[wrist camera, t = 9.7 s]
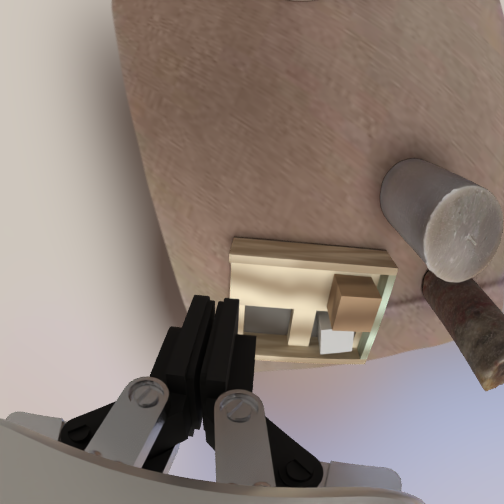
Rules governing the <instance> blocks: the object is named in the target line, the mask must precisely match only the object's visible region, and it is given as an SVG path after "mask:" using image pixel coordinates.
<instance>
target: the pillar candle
mask: <svg viewBox="0 0 504 504" xmlns="http://www.w3.org/2000/svg"><path fill="white" fill-rule="evenodd" d="M380 204H381V208H382V211H383V214H384V216H385V217H386V219H387V220H388V221H389V223H390V224H391V225H392V226H393V227H394V228H395V229H396V230H397V232H398V233H399V234H400V235H401V236H402V237H403V239H404V240H405V241H406V242H407V243H408V244H409V245H410V246H411V247H412V248H413V250H414V251H415V252H416V253H417V254H418V255H419V257H420V258H421V259H422V260H423V261H424V262H425V264H426V265H427V267H428V269H429V270H430V271H432V273H434V274H435V275H436V276H437V277H439V278H441V279H442V280H444V281H447V282H462V281H465V280H468V279H470V278H472V277H474V276H475V275H477V274H478V273H480V272H481V271H482V270H483V269H484V268H485V267H486V266H488V264H489V263H490V261H491V260H492V258H493V257H494V255H495V254H496V252H497V249H498V247H499V244H500V241H501V237H502V233H503V214H502V210H501V207H500V205H499V202H498V201H497V199H496V198H495V196H494V195H493V194H492V193H491V192H490V191H488V190H487V189H485V188H483V187H482V186H479V185H478V184H476V183H474V182H472V181H469V180H467V179H465V178H463V177H461V176H459V175H457V174H455V173H452V172H450V171H448V170H446V169H443V168H441V167H439V166H437V165H434V164H432V163H430V162H427V161H424V160H422V159H407V160H404V161H401V162H399V163H398V164H396V165H395V166H393V167H392V168H391V169H390V170H389V172H388V173H387V174H386V176H385V178H384V180H383V182H382V187H381V193H380Z"/></svg>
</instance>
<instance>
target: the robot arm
mask: <svg viewBox="0 0 504 504" xmlns="http://www.w3.org/2000/svg"><path fill="white" fill-rule="evenodd" d="M292 1H312V0H292ZM238 321H239V299H232V298H225V299H224V302H222V301H219V302H218V305H217V309H216V313H215V301H212V300H210V297H209V296H201V295H194V297H193V300H192V302H191V305H190V307H189V310H188V313H187V316H186V318H185V321H184V323H183V326H182V328H180V327H170V328H169V330H168V332H167V335H166V337H165V339H164V342H163V344H162V347H161V350H160V352H159V355H158V357H157V359H156V362H155V364H154V367H153V369H152V372H151V374H150V377H140V378H137V379H134V380H133V381H131V382H130V383H129V384H128V385H127V386H126V387H125V389H124V390H123V392H122V393H121V395H120V396H119V398H118V399H117V401H116V402H113V403H111V404H108V405H106V406H103V407H101V408H98V409H96V410H94V411H91V412H88V413H86V414H84V415H81V416H78V417H76V418H74V419H71V420H69V421H68V422H66V421H64V420H63V419H62V418H55V417H48V416H42V415H36V414H30V413H25V412H14V413H12V414H10V415H9V416H8V417H7V418H6V420H4V419H0V504H425V503H424V502H423V501H422V500H421V499H419V498H417V497H415V496H413V495H410V494H408V493H405V492H401V486H402V484H401V478H400V477H399V475H398V474H397V473H396V472H395V471H393V470H392V469H389V468H384V467H373V466H364V465H355V464H348V463H341V462H334V461H331V462H330V463H325V462H320V461H318V459H317V458H316V457H314V456H313V455H312V454H311V453H309V452H308V451H307V450H305V449H304V448H303V447H301V446H300V445H299V444H298V443H297V442H295V441H294V440H293V439H292V438H290V437H289V436H288V435H287V434H285V433H284V432H283V431H282V430H281V429H279V428H278V427H277V426H276V425H275V424H274V423H273V422H271V421H270V420H269V419H268V418H267V417H266V416H265V412H264V406H263V403H262V401H261V400H260V398H259V397H258V396H256V395H255V394H253V393H252V390H253V377H254V364H255V351H256V337H257V336H254V335H243V334H238ZM202 417H203V426H204V430H205V432H206V442H207V443H208V444H209V445H210V446H211V447H212V448H213V449H214V450H215V457H216V458H215V460H216V482H209V481H203V480H196V479H189V478H184V477H179V476H174V475H169V474H168V472H169V470H170V468H171V465H172V463H173V461H174V459H175V456H176V454H177V452H178V449H179V445H180V443H181V442H183V441H185V440H186V439H188V436H192V437H193V434H194V429H198V430H199V429H200V427H201V422H202Z"/></svg>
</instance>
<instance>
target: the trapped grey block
mask: <svg viewBox="0 0 504 504" xmlns="http://www.w3.org/2000/svg"><path fill="white" fill-rule="evenodd" d="M317 336H318V342H319V349H320V354H330V353H340V352H349V351H352V346H353V338H354V332H352V331H332V328H331V324H330V319H329V315H328V311H317Z"/></svg>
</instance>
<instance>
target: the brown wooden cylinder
mask: <svg viewBox="0 0 504 504" xmlns="http://www.w3.org/2000/svg"><path fill="white" fill-rule="evenodd" d="M423 295H424V297H425V299H426V300H427V302H428V303H429V305H430V306H431V308H432V309H433V311H434V312H435V313H436V315H437V316H438V318H439V319H440V320H441V322H442V323H443V325H444V326H445V328H446V329H447V331H448V332H449V334H450V335H451V337H452V338H453V340H454V341H455V343H456V345H457V346H458V347H459V349H460V351H461V353H462V354H463V356H464V357H465V359H466V360H467V362H468V364H469V366H470V367H471V369H472V371H473V372H474V374H475V375H476V377H477V379H478V381H479V382H480V384H481V386H482V387H483V389H484V390H485V391H488V390H490V389H493V388H496V387H497V386H498V385H502V384H503V383H504V314H503V313H502V312H501V311H500V309H499V308H498V307H497V306H496V305H495V304H494V302H493V301H492V300H491V299H490V298H489V297H488V296H487V294H486V293H485V292H484V291H483V290H482V289H481V288H480V287H479V286H478V284H477V283H476V282H475V281H474V280H473V279H472V278H470V279H468V280H465V281H462V282H447V281H444V280H442V279H441V278H439V277H437V276H436V275H435V274H434V273H432V271H430V270H429V271H428V272H427V274H426V275H425V278H424V284H423Z"/></svg>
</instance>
